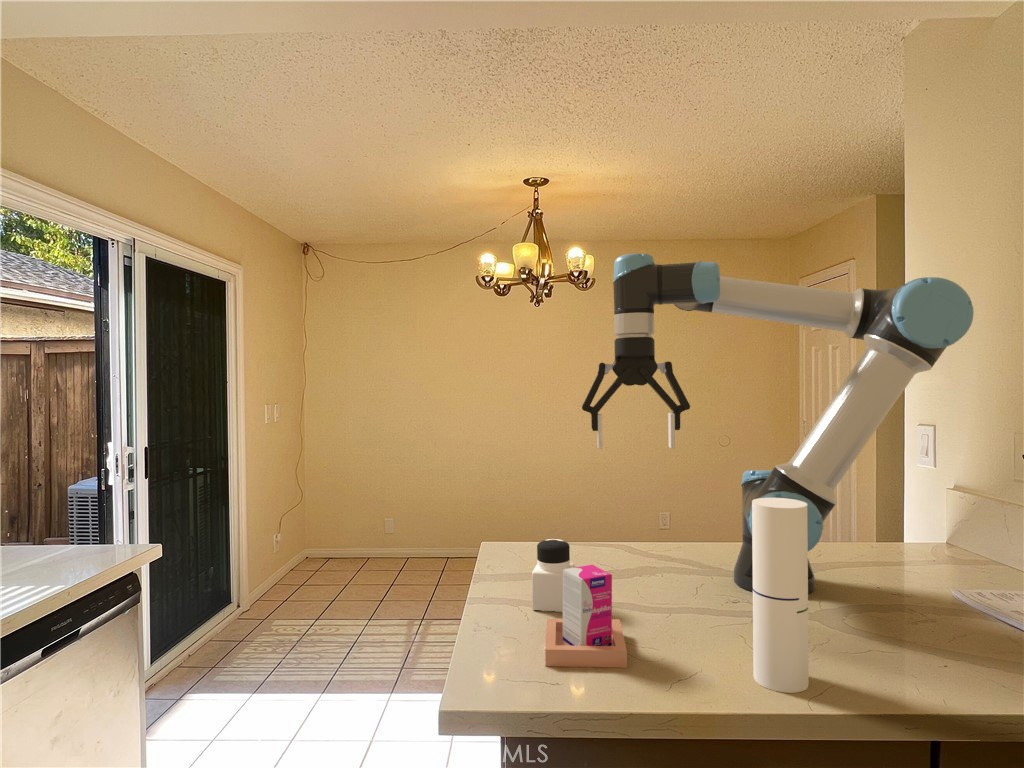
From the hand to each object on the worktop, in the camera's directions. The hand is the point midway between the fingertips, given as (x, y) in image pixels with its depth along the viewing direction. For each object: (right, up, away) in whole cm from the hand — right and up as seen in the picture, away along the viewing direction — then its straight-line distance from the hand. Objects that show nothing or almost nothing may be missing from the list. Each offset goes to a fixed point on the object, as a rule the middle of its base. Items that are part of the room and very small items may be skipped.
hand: (635, 448), depth 125 cm
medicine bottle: (-16, -29, -3) cm, 33 cm away
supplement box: (-12, -29, -23) cm, 38 cm away
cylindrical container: (+14, -30, -33) cm, 47 cm away
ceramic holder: (-12, -29, -22) cm, 39 cm away
